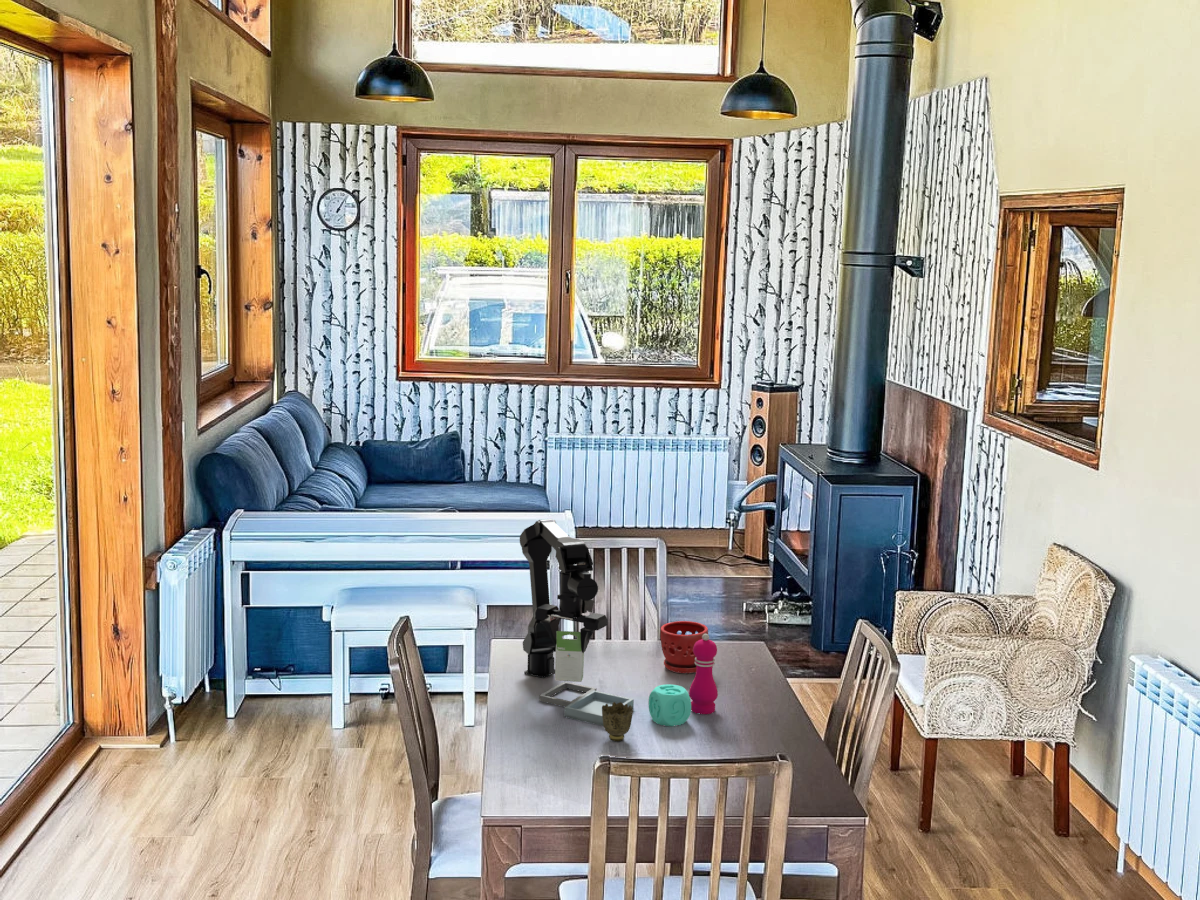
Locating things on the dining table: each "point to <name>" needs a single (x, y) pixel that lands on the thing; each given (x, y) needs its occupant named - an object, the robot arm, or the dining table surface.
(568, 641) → the ink box
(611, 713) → the cup
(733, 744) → the dining table surface
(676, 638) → the plant pot
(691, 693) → the pepper mill
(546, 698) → the frame
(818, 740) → the dining table surface
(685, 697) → the decorative dice
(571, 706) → the tray
